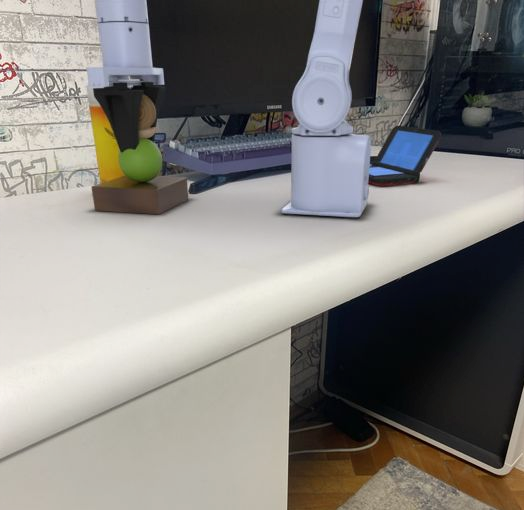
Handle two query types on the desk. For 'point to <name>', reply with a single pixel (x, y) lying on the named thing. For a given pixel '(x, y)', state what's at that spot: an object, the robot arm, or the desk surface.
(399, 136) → the handheld console
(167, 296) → the desk surface
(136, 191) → the walnut block
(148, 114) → the snail figurine
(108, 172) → the glass of beer
